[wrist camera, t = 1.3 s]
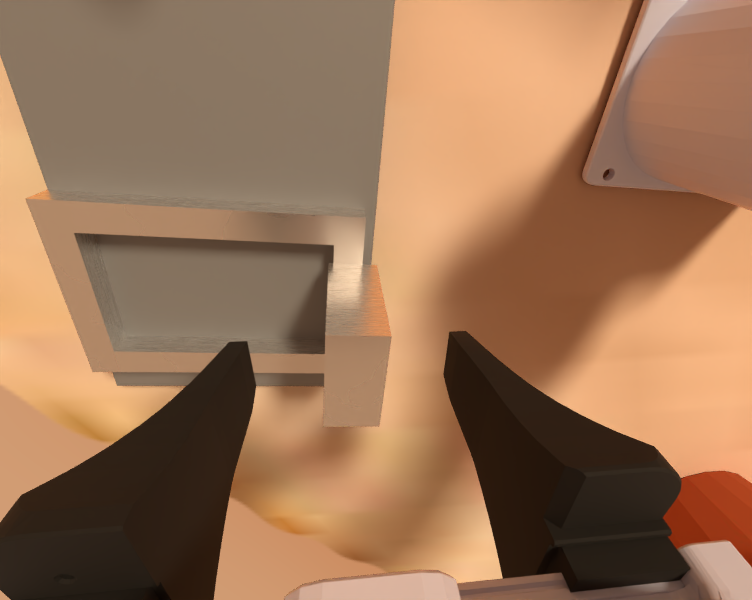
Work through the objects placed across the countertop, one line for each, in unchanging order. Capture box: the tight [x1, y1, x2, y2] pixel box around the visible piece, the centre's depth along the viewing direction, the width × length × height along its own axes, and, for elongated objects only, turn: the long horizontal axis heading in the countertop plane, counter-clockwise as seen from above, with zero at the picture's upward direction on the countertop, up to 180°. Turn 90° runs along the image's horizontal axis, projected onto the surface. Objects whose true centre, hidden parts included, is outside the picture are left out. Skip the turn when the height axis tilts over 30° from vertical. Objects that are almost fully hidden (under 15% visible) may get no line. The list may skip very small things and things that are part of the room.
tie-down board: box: [0, 0, 395, 386], centre depth 14 cm, size 12×27×1 cm, turn 175°
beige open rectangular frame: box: [26, 190, 391, 427], centre depth 14 cm, size 13×8×6 cm, turn 85°
